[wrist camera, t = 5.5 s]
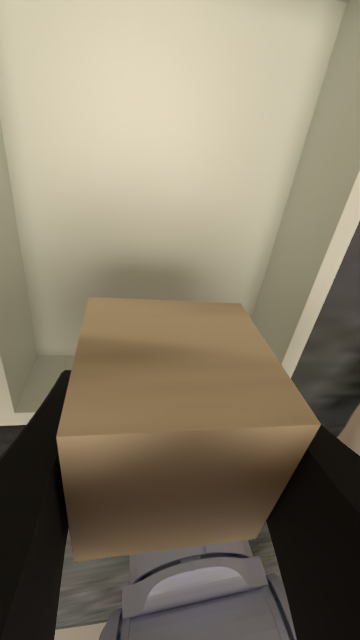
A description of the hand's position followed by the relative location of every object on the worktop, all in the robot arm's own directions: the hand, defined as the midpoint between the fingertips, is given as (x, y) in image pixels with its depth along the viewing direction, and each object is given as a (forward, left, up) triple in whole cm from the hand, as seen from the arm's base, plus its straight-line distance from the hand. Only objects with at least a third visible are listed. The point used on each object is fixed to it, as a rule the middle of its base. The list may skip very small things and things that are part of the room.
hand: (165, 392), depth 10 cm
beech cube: (0, 0, -2) cm, 2 cm away
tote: (+4, 0, -8) cm, 9 cm away
